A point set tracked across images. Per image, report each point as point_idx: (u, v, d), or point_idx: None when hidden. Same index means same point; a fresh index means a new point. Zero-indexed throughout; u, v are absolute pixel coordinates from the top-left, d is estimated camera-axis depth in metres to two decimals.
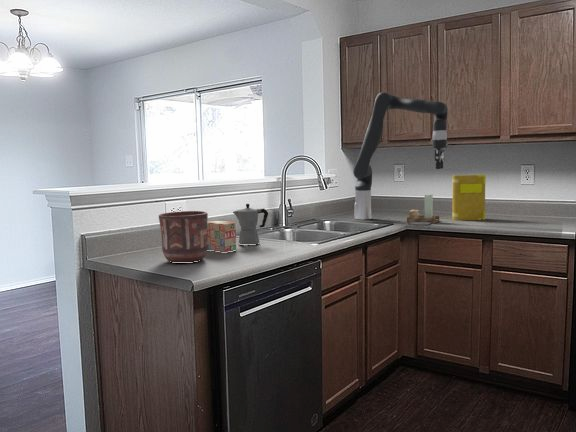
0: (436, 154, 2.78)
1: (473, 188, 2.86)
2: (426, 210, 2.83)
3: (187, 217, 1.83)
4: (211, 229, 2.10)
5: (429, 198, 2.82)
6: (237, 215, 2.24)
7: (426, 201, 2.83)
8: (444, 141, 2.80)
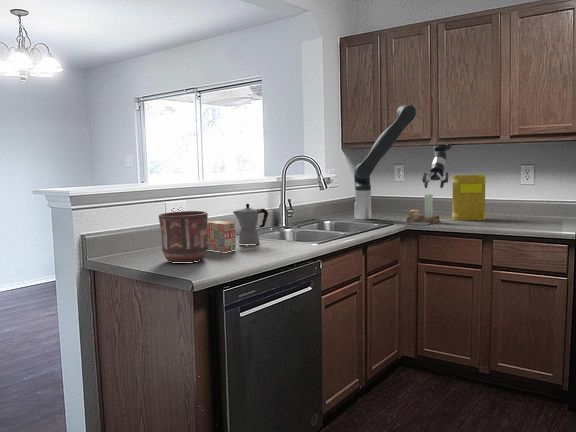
0: (447, 176, 2.94)
1: (473, 188, 2.86)
2: (426, 210, 2.83)
3: (187, 217, 1.83)
4: (211, 229, 2.10)
5: (429, 198, 2.82)
6: (237, 215, 2.24)
7: (426, 201, 2.83)
8: None
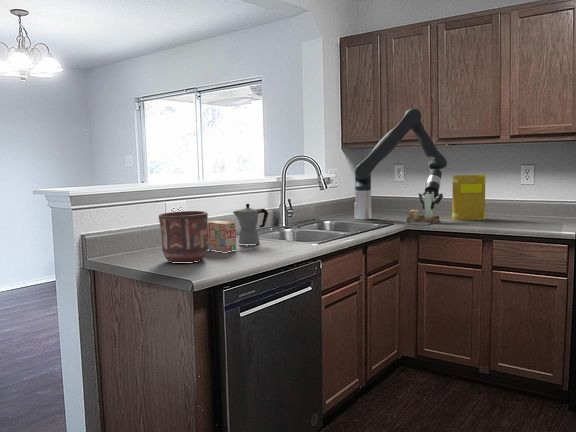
0: (440, 198, 2.84)
1: (473, 188, 2.86)
2: (426, 210, 2.83)
3: (187, 217, 1.83)
4: (211, 229, 2.10)
5: (429, 198, 2.82)
6: (237, 215, 2.24)
7: (426, 201, 2.83)
8: None
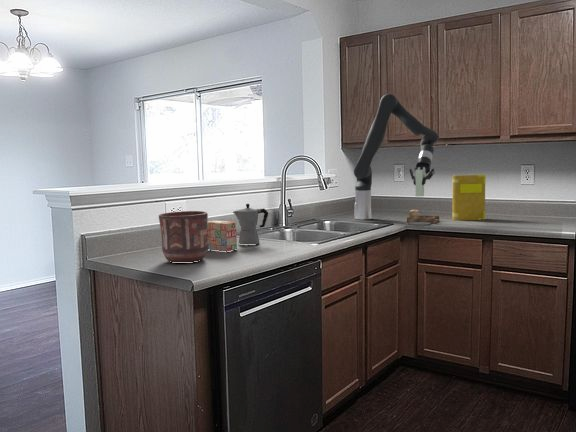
0: (432, 173, 2.74)
1: (473, 188, 2.86)
2: (417, 186, 2.73)
3: (187, 217, 1.83)
4: (211, 229, 2.11)
5: (420, 173, 2.72)
6: (237, 215, 2.24)
7: (417, 176, 2.72)
8: None
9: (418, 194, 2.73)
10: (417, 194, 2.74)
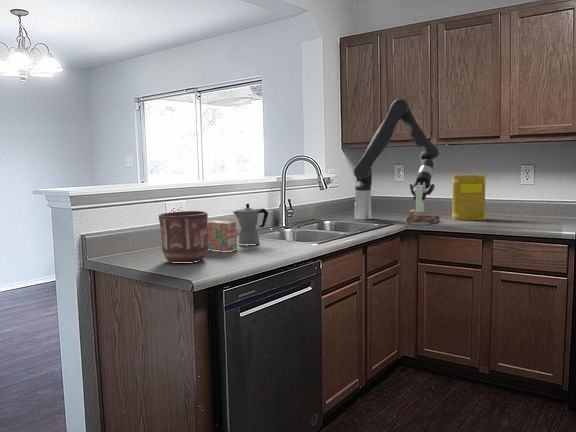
0: (432, 188, 2.74)
1: (473, 188, 2.86)
2: (417, 201, 2.74)
3: (187, 217, 1.83)
4: (212, 229, 2.11)
5: (420, 189, 2.72)
6: (237, 215, 2.24)
7: (417, 192, 2.73)
8: None
9: (418, 209, 2.74)
10: (417, 209, 2.74)
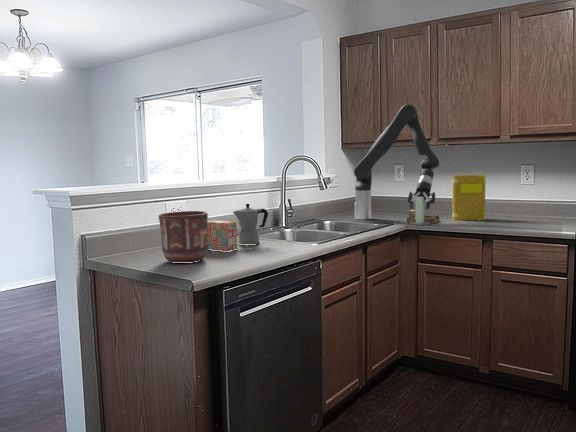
0: (434, 196, 2.75)
1: (473, 188, 2.86)
2: (417, 213, 2.75)
3: (187, 217, 1.83)
4: (212, 229, 2.11)
5: (420, 201, 2.73)
6: (237, 215, 2.24)
7: (417, 204, 2.74)
8: None
9: (418, 221, 2.75)
10: (417, 221, 2.75)
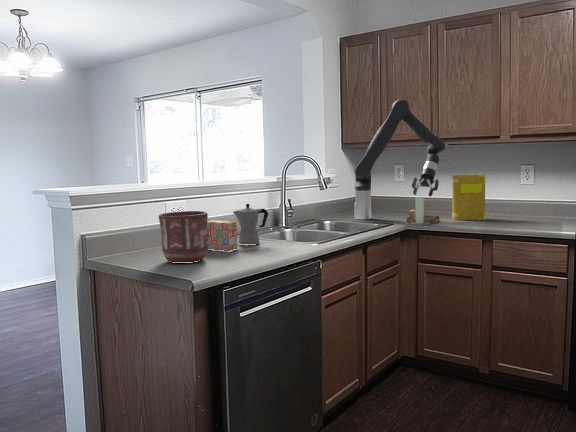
0: (437, 184, 2.87)
1: (473, 188, 2.86)
2: (417, 213, 2.75)
3: (187, 217, 1.83)
4: (212, 228, 2.11)
5: (420, 201, 2.73)
6: (237, 215, 2.24)
7: (417, 204, 2.74)
8: None
9: (418, 221, 2.75)
10: (417, 221, 2.75)
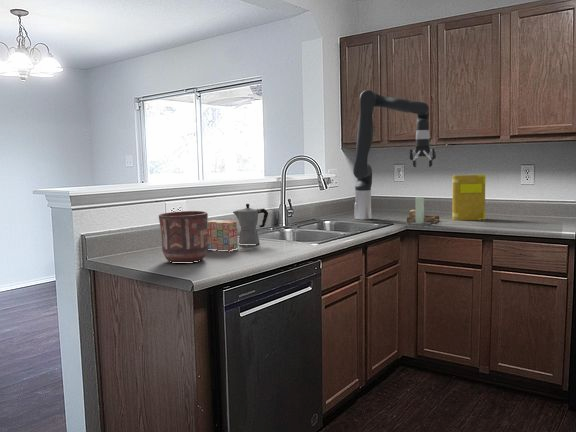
0: (434, 152, 2.90)
1: (473, 188, 2.86)
2: (417, 213, 2.75)
3: (187, 217, 1.83)
4: (212, 228, 2.12)
5: (420, 201, 2.73)
6: (237, 215, 2.24)
7: (417, 204, 2.74)
8: None
9: (418, 221, 2.75)
10: (417, 221, 2.75)
